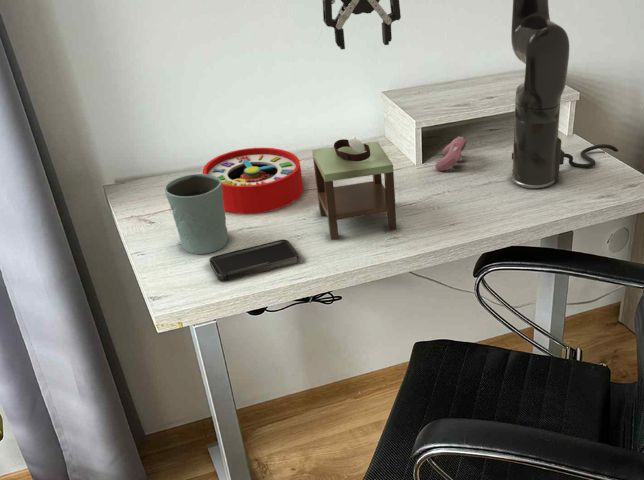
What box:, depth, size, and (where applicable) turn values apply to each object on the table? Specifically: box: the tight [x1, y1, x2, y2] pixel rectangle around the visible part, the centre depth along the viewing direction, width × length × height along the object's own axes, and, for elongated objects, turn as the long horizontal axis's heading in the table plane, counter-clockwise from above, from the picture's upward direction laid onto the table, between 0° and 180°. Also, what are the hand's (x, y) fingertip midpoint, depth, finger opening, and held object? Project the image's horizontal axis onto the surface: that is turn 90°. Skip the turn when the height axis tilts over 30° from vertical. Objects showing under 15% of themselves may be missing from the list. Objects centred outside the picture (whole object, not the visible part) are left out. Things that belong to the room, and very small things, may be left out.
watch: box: [333, 136, 371, 161], centre depth 153 cm, size 8×5×4 cm, turn 59°
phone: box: [208, 239, 300, 282], centre depth 149 cm, size 8×1×15 cm
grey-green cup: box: [164, 173, 229, 255], centre depth 152 cm, size 10×10×12 cm
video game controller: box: [435, 135, 468, 172], centre depth 182 cm, size 10×5×7 cm, turn 168°
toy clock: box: [202, 147, 304, 215], centre depth 171 cm, size 20×6×20 cm
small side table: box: [311, 140, 398, 241], centre depth 158 cm, size 13×12×14 cm
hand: (364, 46), depth 155 cm, fingers open, 8 cm apart
